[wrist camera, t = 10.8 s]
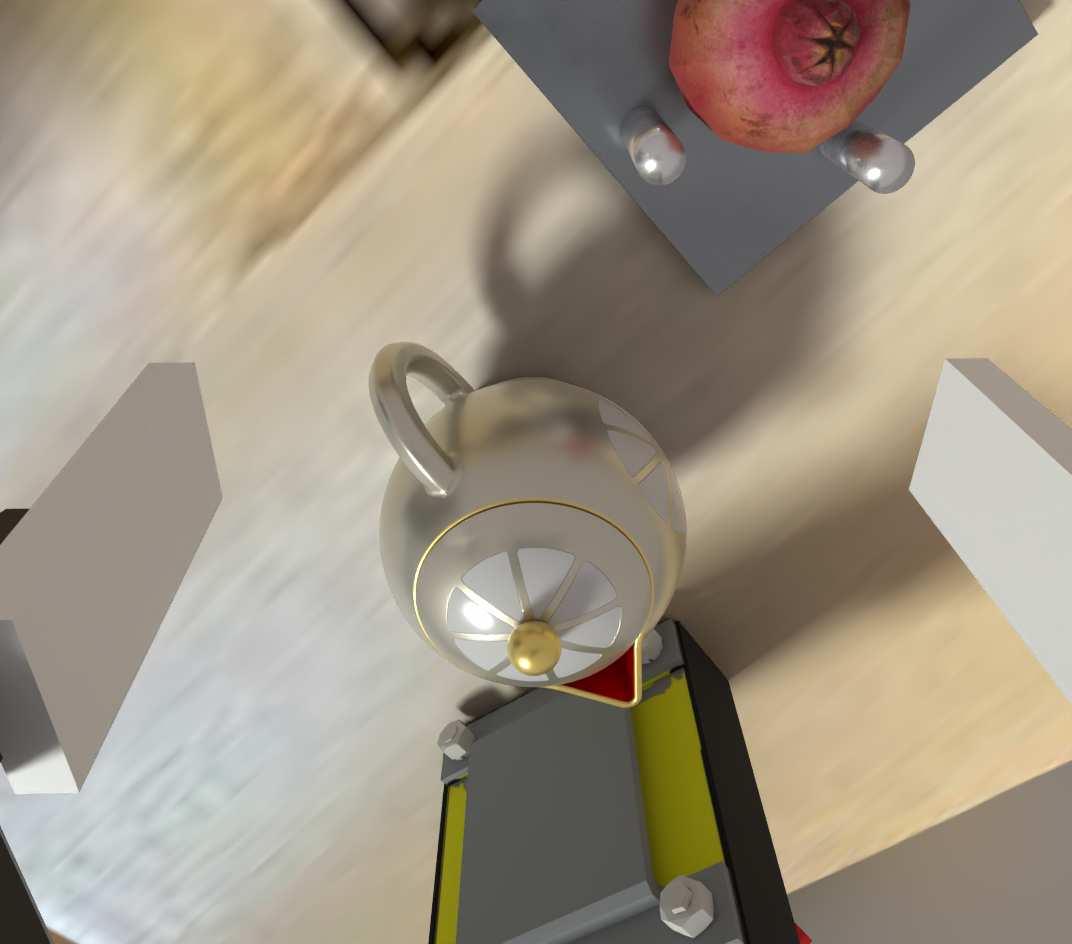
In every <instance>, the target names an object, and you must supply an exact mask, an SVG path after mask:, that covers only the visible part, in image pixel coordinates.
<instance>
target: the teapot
mask: <svg viewBox="0 0 1072 944" xmlns="http://www.w3.org/2000/svg"><path fill="white" fill-rule="evenodd" d="M406 375H407V376H410V377H412V378H414V379H416V380H418V381H419V382H421V383H422V384H423V385H425V386H426V387H427V388H428V389H429V390H431V391H432V392H433V393H434V394H435V395H436V396H437V397H438V398H439V399H440V400H441V401H442V402H443V403H444V404H445V405H446V407H445V408H443V409H442V410H441V411H439V412H438V413H437V414H436V415H434V416H433V417H432V418H431V419H430V420H429V421H428V422H427V423H426V424H425V425H424V424H423V422H422V420H421V419H420V417H419V415H418V413H417V411H416V410H415V407H414V405H413V403H412V401H411V398H410V396H409V393H408V389H407V385H406ZM369 392H370V398H371V402H372V405H373V408H374V411H375V414H376V416H377V419H378V421H379V423H380V425H381V427H382V429H383V431H384V433H385V435H386V436H387V438H388V440H389V441H390V443H391V445H392V446H393V448H394V449H395V451H396V452H397V454H398V455H399V457H400V458H399V459H398V461H397V463H396V465H395V467H394V469H393V472H392V474H391V477H390V479H389V482H388V485H387V488H386V491H385V495H384V499H383V503H382V510H381V517H380V549H381V557H382V563H383V568H384V572H385V575H386V579H387V582H388V585H389V587H390V590H391V593H392V595H393V597H394V599H395V601H396V603H397V605H398V607H399V609H400V611H401V613H402V614H403V616H404V617H405V619H406V620H407V622H408V623H409V624H410V626H411V627H412V628H413V630H414V631H415V632H416V633H417V634H418V636H419V637H420V638H421V639H422V640H423V641H424V642H425V643H426V644H427V645H428V646H429V647H430V648H431V649H433V650H434V651H435V652H436V653H437V654H439V655H440V656H441V657H443V658H444V659H445V660H447V661H448V662H450V663H451V664H453V665H455V666H457V667H458V668H460V669H462V670H464V671H466V672H468V673H470V674H472V675H475V676H477V677H480V678H483V679H486V680H489V681H492V682H496V683H500V684H505V685H511V686H520V687H540V688H549V689H554V690H559V691H563V692H566V693H570V694H574V695H577V696H581V697H585V698H588V699H592V700H596V701H599V702H603V703H607V704H610V705H614V706H618V707H621V708H630V707H633V706H635V705H637V704H638V703H639V702H640V700H641V698H642V641H643V640H644V639H645V638H646V637H647V636H648V634H649V633H650V632H651V631H652V630H653V628H654V627H655V626H656V625H657V623H658V622H659V620H660V619H661V617H662V616H663V614H664V612H665V611H666V609H667V607H668V605H669V603H670V601H671V599H672V597H673V595H674V593H675V590H676V588H677V585H678V582H679V579H680V576H681V572H682V567H683V563H684V558H685V550H686V516H685V509H684V503H683V498H682V494H681V491H680V487H679V484H678V481H677V479H676V476H675V474H674V471H673V469H672V467H671V465H670V463H669V461H668V459H667V457H666V456H665V454H664V452H663V451H662V449H661V448H660V446H659V445H658V443H657V442H656V441H655V439H654V438H653V437H652V435H651V434H650V433H649V432H648V431H647V430H646V429H645V428H644V427H643V426H642V424H641V423H640V422H639V421H637V420H636V419H635V418H634V417H633V416H632V415H631V414H629V413H628V412H627V411H626V410H624V409H623V408H621V407H620V406H619V405H617V404H615V403H614V402H612V401H611V400H609V399H607V398H605V397H603V396H601V395H599V394H597V393H595V392H592V391H590V390H588V389H585V388H582V387H579V386H575V385H572V384H568V383H565V382H562V381H559V380H556V379H551V378H545V377H520V378H514V379H509V380H506V381H502V382H500V383H497V384H494V385H491V386H488V387H484V388H481V389H479V390H476V391H475V390H474V389H473V388H472V387H471V386H470V385H469V384H468V382H467V381H466V380H465V379H464V378H463V377H462V376H461V375H460V374H459V373H458V372H457V371H456V370H455V369H454V368H453V367H452V366H451V365H449V364H448V363H447V362H446V361H445V360H444V359H443V358H441V357H440V356H439V355H438V354H436V353H435V352H433V351H432V350H430V349H428V348H426V347H424V346H422V345H420V344H416V343H412V342H400V343H392V344H389V345H387V346H385V347H383V348H382V349H381V350H380V351H379V352H378V354H377V355H376V357H375V359H374V362H373V365H372V367H371V370H370V375H369Z"/></svg>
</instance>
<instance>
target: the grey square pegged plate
mask: <svg viewBox="0 0 1072 944" xmlns="http://www.w3.org/2000/svg"><path fill="white" fill-rule="evenodd" d="M677 2H678V0H482V1H481V2H480V3H479V4H478V5H477V6H476V7H475V8H474V9H473V13H474V14H475V15H476V16H477V17H478V18H479V20H480V21H481V22H482V23H483V24H484V25H485V27H486V28H487V29H488V30H489V31H490V32H491V34H492V35H493V36H494V37H495V38H496V39H497V41H498V42H499V43H500V44H501V45H502V46H503V48H504V49H505V50H506V51H507V52H508V53H509V55H510V56H511V57H512V58H513V59H514V60H515V62H516V63H517V64H518V65H519V66H520V67H521V69H522V70H523V71H524V72H525V73H526V74H527V76H528V77H529V78H530V79H531V80H532V81H533V83H534V84H535V85H536V86H537V87H538V88H539V90H540V91H541V92H542V93H543V94H544V95H545V97H546V98H547V99H548V100H549V101H550V102H551V104H552V105H553V106H554V107H555V108H556V109H557V111H558V112H559V113H560V114H561V115H562V116H563V118H564V119H565V120H566V121H567V122H568V123H569V125H570V126H571V127H572V128H573V129H574V130H575V132H576V133H577V134H578V135H579V136H580V137H581V139H582V140H583V141H584V142H585V143H586V144H587V146H588V147H589V148H590V149H591V150H592V151H593V153H594V154H595V155H596V156H597V157H598V158H599V160H600V161H601V162H602V163H603V164H604V165H605V167H606V168H607V169H608V170H609V171H610V172H611V174H612V175H613V176H614V177H615V178H616V179H617V181H618V182H619V183H620V184H621V185H622V186H623V188H624V189H625V190H626V191H627V192H628V193H629V195H630V196H631V197H632V198H633V199H634V200H635V202H636V203H637V204H638V205H639V206H640V207H641V209H642V210H643V211H644V212H645V213H646V214H647V216H648V217H649V218H650V219H651V220H652V221H653V223H654V224H655V225H656V226H657V227H658V228H659V230H660V231H661V232H662V233H663V234H664V235H665V237H666V238H667V239H668V240H669V241H670V242H671V244H672V245H673V246H674V247H675V248H676V249H677V251H678V252H679V253H680V254H681V255H682V256H683V258H684V259H685V260H686V261H687V262H688V263H689V265H690V266H691V267H692V268H693V269H694V271H695V272H696V273H697V274H698V275H699V276H700V278H701V279H702V280H703V281H704V282H705V283H706V285H707V286H708V287H709V288H710V289H711V290H712V292H713V293H714V294H715V295H716V296H718V295H719V294H720V293H721V292H723V291H724V290H725V289H726V288H727V287H729V286H730V285H731V284H732V283H734V282H735V281H736V280H737V279H738V278H740V277H741V276H742V275H743V274H745V273H746V272H747V271H748V270H750V269H751V268H752V267H753V266H754V265H756V264H757V263H758V262H759V261H761V260H762V259H763V258H764V257H765V256H767V255H768V254H769V253H770V252H772V251H773V250H774V249H775V248H776V247H778V246H779V245H780V244H781V243H783V242H784V241H785V240H786V239H788V238H789V237H790V236H791V235H792V234H794V233H795V232H796V231H797V230H799V229H800V228H801V227H802V226H803V225H805V224H806V223H807V222H808V221H810V220H811V219H812V218H813V217H815V216H816V215H817V214H818V213H819V212H821V211H822V210H823V209H824V208H826V207H827V206H828V205H829V204H830V203H832V202H833V201H834V200H835V199H837V198H838V197H839V196H840V195H842V194H843V193H844V192H845V191H846V190H848V189H849V188H850V187H851V186H853V185H854V184H855V183H856V182H857V181H860V182H862V183H863V184H865V185H866V186H867V187H869V188H870V189H872V190H873V191H875V192H877V193H882V194H887V193H892V192H895V191H897V190H899V189H900V188H902V187H903V186H904V185H905V184H906V183H907V182H908V180H909V179H910V177H911V176H912V173H913V171H914V166H915V159H914V155H913V153H912V151H911V150H910V149H909V148H908V147H907V146H906V145H904V143H905V142H907V141H908V140H909V139H910V138H911V137H913V136H914V135H915V134H916V133H918V132H919V131H920V130H921V129H922V128H924V127H925V126H926V125H927V124H929V123H930V122H931V121H932V120H934V119H935V118H936V117H937V116H938V115H940V114H941V113H942V112H943V111H945V110H946V109H947V108H948V107H949V106H951V105H952V104H953V103H954V102H956V101H957V100H958V99H959V98H961V97H962V96H963V95H964V94H965V93H967V92H968V91H969V90H970V89H972V88H973V87H974V86H975V85H976V84H978V83H979V82H980V81H981V80H983V79H984V78H985V77H986V76H987V75H989V74H990V73H991V72H992V71H994V70H995V69H996V68H997V67H999V66H1000V65H1001V64H1002V63H1003V62H1005V61H1006V60H1007V59H1008V58H1010V57H1011V56H1012V55H1013V54H1014V53H1016V52H1017V51H1018V50H1019V49H1021V48H1022V47H1023V46H1024V45H1026V44H1027V43H1028V42H1029V41H1030V40H1032V39H1033V38H1034V37H1035V36H1037V35H1038V33H1037V31H1036V30H1035V28H1034V26H1033V24H1032V22H1031V21H1030V19H1029V17H1028V15H1027V14H1026V12H1025V10H1024V8H1023V6H1022V5H1021V3H1020V1H1019V0H909V2H910V5H911V6H910V13H909V19H908V26H907V32H906V38H905V45H904V51H903V57H902V61H901V63H900V64H899V65H898V67H897V68H896V70H895V71H894V73H893V74H892V75H891V77H890V78H889V80H888V81H887V82H886V84H885V85H884V87H883V88H882V89H881V91H880V92H879V94H878V95H877V96H876V98H875V99H874V100H873V101H872V102H871V103H870V104H869V105H868V106H867V108H866V109H865V110H864V111H863V112H862V113H861V114H860V115H859V116H858V117H857V118H856V119H855V120H854V121H853V122H852V123H851V124H850V125H849V126H848V127H847V128H845V129H844V130H842V131H840V132H839V133H837V134H836V135H834V136H832V137H831V138H829V139H828V140H826V141H824V142H823V143H821V144H820V145H818V146H817V147H815V148H813V149H812V150H810V151H809V152H807V153H767V152H761V151H756V150H753V149H750V148H746V147H743V146H739V145H736V144H733V143H729V142H726V141H722V140H721V139H720V138H719V137H717V136H716V135H715V134H714V133H713V132H712V131H711V130H710V129H709V128H708V127H707V126H706V125H705V124H704V123H703V122H702V121H701V120H700V119H699V118H698V117H697V116H695V115H694V114H693V113H692V112H691V111H690V110H689V108H688V107H687V105H686V103H685V100H684V98H683V96H682V94H681V91H680V89H679V87H678V85H677V82H676V80H675V78H674V76H673V73H672V71H671V69H670V66H669V55H670V46H671V38H672V30H673V21H674V13H675V7H676V5H677Z"/></svg>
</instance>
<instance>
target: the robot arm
mask: <svg viewBox="0 0 1072 944" xmlns="http://www.w3.org/2000/svg"><path fill="white" fill-rule="evenodd" d="M909 491H910V492H911V493H912V495H913V496H914V497H915V499H916V500H917V501H918V502H919V504H920V505H921V506H922V508H923V509H924V510H925V512H926V513H927V514H928V516H929V517H930V518H931V520H932V521H933V522H934V524H935V525H936V526H937V528H938V529H939V530H940V532H941V533H942V534H943V535H944V537H945V538H946V539H947V541H948V542H949V543H950V545H951V546H952V547H953V549H954V550H955V551H956V553H957V554H958V555H959V557H960V558H961V559H962V561H963V562H964V563H965V564H966V566H967V567H968V568H969V570H970V571H971V572H972V574H973V575H974V576H975V578H976V579H977V580H978V582H979V583H980V584H981V586H982V587H983V588H984V590H985V591H986V592H987V594H988V595H989V596H990V597H991V599H992V600H993V601H994V603H995V604H996V605H997V607H998V608H999V609H1000V611H1001V612H1002V613H1003V615H1004V616H1005V617H1006V619H1007V620H1008V621H1009V623H1010V624H1011V625H1012V627H1013V628H1014V629H1015V630H1016V632H1017V633H1018V634H1019V636H1020V637H1021V638H1022V640H1023V641H1024V642H1025V644H1026V645H1027V646H1028V648H1029V649H1030V650H1031V652H1032V653H1033V654H1034V656H1035V657H1036V658H1037V659H1038V661H1039V662H1040V663H1041V665H1042V666H1043V667H1044V669H1045V670H1046V671H1047V673H1048V674H1049V675H1050V677H1051V678H1052V679H1053V681H1054V682H1055V683H1056V685H1057V686H1058V687H1059V689H1060V690H1061V691H1062V692H1063V694H1064V695H1065V696H1066V698H1067V699H1068V700H1069V702H1070V703H1071V704H1072V429H1070V428H1069V427H1068V426H1067V425H1066V424H1064V423H1063V422H1062V421H1061V420H1060V419H1059V418H1057V417H1056V416H1055V415H1054V414H1053V413H1051V412H1050V411H1049V410H1048V409H1047V408H1046V407H1044V406H1043V405H1042V404H1041V403H1040V402H1038V401H1037V400H1036V399H1035V398H1034V397H1033V396H1031V395H1030V394H1029V393H1028V392H1027V391H1025V390H1024V389H1023V388H1022V387H1021V386H1019V385H1018V384H1017V383H1016V382H1015V381H1014V380H1012V379H1011V378H1010V377H1009V376H1008V375H1006V374H1005V373H1004V372H1003V371H1002V370H1001V369H999V368H998V367H997V366H996V365H995V364H993V363H992V362H991V361H990V360H989V359H987V358H981V359H945V362H944V365H943V369H942V372H941V376H940V380H939V383H938V387H937V390H936V394H935V397H934V401H933V405H932V408H931V412H930V415H929V419H928V423H927V426H926V430H925V433H924V437H923V441H922V444H921V448H920V451H919V455H918V459H917V462H916V466H915V469H914V473H913V477H912V480H911V484H910V487H909ZM221 500H222V493H221V488H220V483H219V478H218V473H217V469H216V464H215V459H214V454H213V449H212V444H211V440H210V435H209V430H208V425H207V420H206V415H205V411H204V406H203V401H202V396H201V391H200V386H199V382H198V377H197V372H196V367H195V363H149V364H148V365H147V366H146V367H145V368H144V370H143V371H142V372H141V373H140V375H139V376H138V377H137V378H136V379H135V381H134V382H133V383H132V384H131V386H130V387H129V388H128V389H127V390H126V392H125V393H124V394H123V395H122V397H121V398H120V399H119V400H118V401H117V403H116V404H115V405H114V406H113V408H112V409H111V410H110V411H109V412H108V414H107V415H106V416H105V417H104V419H103V420H102V421H101V422H100V424H99V425H98V426H97V427H96V428H95V430H94V431H93V432H92V433H91V435H90V436H89V437H88V438H87V439H86V441H85V442H84V443H83V444H82V446H81V447H80V448H79V449H78V450H77V452H76V453H75V454H74V455H73V457H72V458H71V459H70V460H69V461H68V463H67V464H66V465H65V466H64V468H63V469H62V470H61V471H60V473H59V474H58V475H57V476H56V477H55V479H54V480H53V481H52V482H51V484H50V485H49V486H48V487H47V488H46V490H45V491H44V492H43V493H42V495H41V496H40V497H39V498H38V499H37V501H36V502H35V503H34V504H33V506H32V507H31V508H30V509H6V510H4V511H2V512H1V513H0V762H1V763H2V766H3V768H4V770H5V772H6V775H7V777H8V779H9V781H10V784H11V786H12V788H13V790H14V792H15V794H38V793H77V792H80V790H81V788H82V786H83V784H84V782H85V779H86V777H87V775H88V773H89V771H90V769H91V767H92V765H93V763H94V761H95V759H96V757H97V755H98V753H99V751H100V749H101V747H102V745H103V742H104V740H105V738H106V736H107V734H108V732H109V730H110V728H111V726H112V724H113V722H114V720H115V718H116V716H117V714H118V712H119V710H120V708H121V705H122V703H123V701H124V699H125V697H126V695H127V693H128V691H129V689H130V687H131V685H132V683H133V681H134V679H135V677H136V675H137V673H138V671H139V668H140V666H141V664H142V662H143V660H144V658H145V656H146V654H147V652H148V650H149V648H150V646H151V644H152V642H153V640H154V638H155V636H156V634H157V631H158V629H159V627H160V625H161V623H162V621H163V619H164V617H165V615H166V613H167V611H168V609H169V607H170V605H171V603H172V601H173V599H174V597H175V594H176V592H177V590H178V588H179V586H180V584H181V582H182V580H183V578H184V576H185V574H186V572H187V570H188V568H189V566H190V564H191V562H192V560H193V557H194V555H195V553H196V551H197V549H198V547H199V545H200V543H201V541H202V539H203V537H204V535H205V533H206V531H207V529H208V527H209V525H210V523H211V520H212V518H213V516H214V514H215V512H216V510H217V508H218V506H219V504H220V502H221ZM0 944H54V943H53V940H52V938H51V936H50V934H49V932H48V929H47V927H46V925H45V923H44V921H43V918H42V916H41V914H40V912H39V910H38V908H37V905H36V903H35V901H34V899H33V897H32V894H31V892H30V890H29V888H28V886H27V884H26V881H25V879H24V877H23V875H22V873H21V870H20V868H19V866H18V864H17V862H16V860H15V857H14V855H13V853H12V851H11V849H10V846H9V844H8V842H7V840H6V838H5V836H4V833H3V831H2V829H1V827H0Z"/></svg>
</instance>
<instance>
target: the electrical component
mask: <svg viewBox="0 0 1072 944" xmlns="http://www.w3.org/2000/svg"><path fill="white" fill-rule="evenodd" d="M437 744H438V745H439V747H440V748H441V750H442V751H443V752H444V754H443V764H442V774H441V781H442V782H443V783H444V792H443V802H442V812H441V822H440V832H439V842H438V852H437V862H436V873H435V883H434V893H433V903H432V913H431V923H430V933H429V943H428V944H810V943H811V942H812V940H811V939H810V938H809V937H808V936H807V935H806V934H805V933H804V932H803V931H802V930H801V929H800V928H799V927H798V926H797V924H796V923H794V919H793V916H792V912H791V908H790V905H789V901H788V897H787V894H786V890H785V886H784V883H783V879H782V876H781V872H780V868H779V865H778V861H777V857H776V854H775V850H774V846H773V843H772V839H771V835H770V832H769V828H768V824H767V821H766V817H765V813H764V810H763V806H762V802H761V799H760V795H759V791H758V788H757V784H756V781H755V777H754V773H753V770H752V766H751V762H750V759H749V755H748V751H747V748H746V744H745V740H744V737H743V733H742V729H741V726H740V722H739V718H738V715H737V711H736V707H735V704H734V700H733V696H732V693H731V689H730V686H729V682H728V680H727V679H726V677H725V676H724V675H723V674H722V673H721V671H720V670H719V669H718V668H717V667H716V665H715V664H714V663H713V662H712V661H711V659H710V658H709V657H708V656H707V655H706V653H705V652H704V651H703V650H702V648H701V647H700V646H699V645H698V644H697V642H696V641H695V640H694V639H693V638H692V636H691V635H690V634H689V633H688V632H687V630H686V629H685V628H684V627H683V626H682V624H681V623H680V622H679V621H676V622H673V621H672V620H671V619H668V620H666V621H664V622H662V623H660V624H658V625H656V626H655V627H654V628H653V630H652V631H651V632H650V633H649V634H648V636H647V637H646V638H645V639H644V640H643V641H642V698H641V700H640V702H639V703H638V704H637V705H635V706H633V707H630V708H621V707H618V706H614V705H610V704H607V703H603V702H599V701H596V700H592V699H588V698H585V697H581V696H577V695H574V694H570V693H566V692H563V691H559V690H554V689H549V688H540V687H539V688H537V689H535V690H533V691H532V692H530V693H528V694H526V695H524V696H522V697H520V698H518V699H516V700H515V701H513V702H511V703H509V704H507V705H505V706H503V707H501V708H499V709H497V710H496V711H494V712H492V713H490V714H488V715H486V716H484V717H482V718H480V719H479V720H477V721H475V722H473V723H471V724H469V725H467V726H466V725H465V724H463V723H462V722H461V721H460V720H457V721H454V722H452V723H450V724H448V725H447V726H446V727H445V728H444V729H443V731H442V732H441V733H440V736H439V739H438V741H437Z"/></svg>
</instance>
